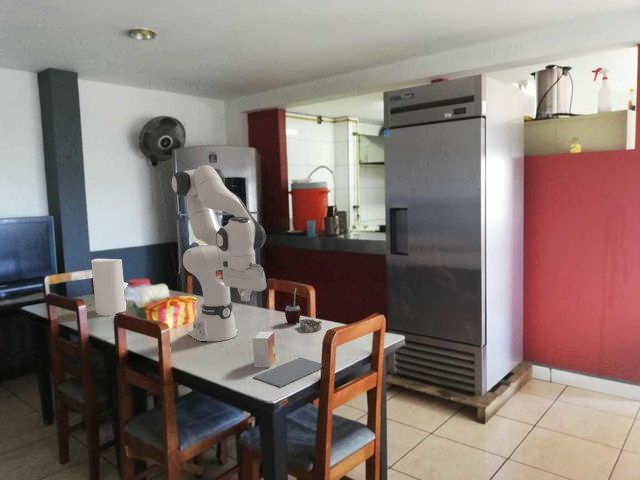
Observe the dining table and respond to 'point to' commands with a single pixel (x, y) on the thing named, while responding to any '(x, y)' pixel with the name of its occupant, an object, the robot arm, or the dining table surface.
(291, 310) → the mate gourd
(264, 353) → the small box
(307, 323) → the egg carton
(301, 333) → the dining table surface
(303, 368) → the slate mat
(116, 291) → the cylinder
